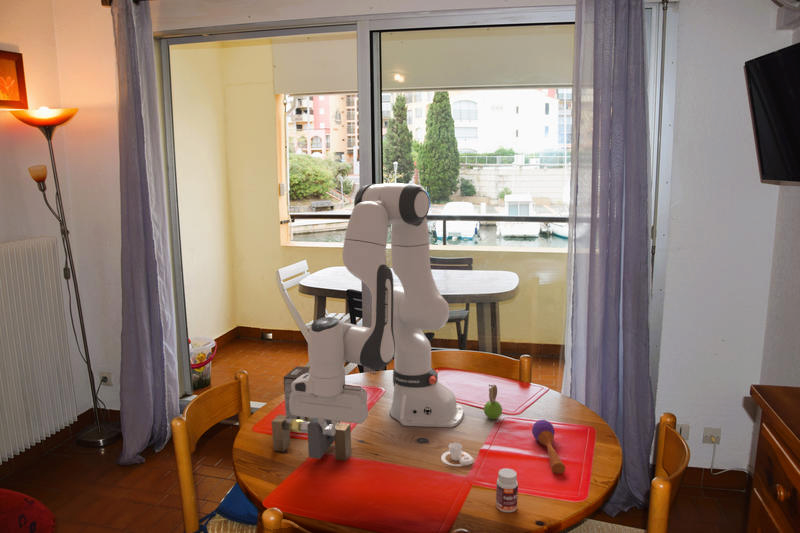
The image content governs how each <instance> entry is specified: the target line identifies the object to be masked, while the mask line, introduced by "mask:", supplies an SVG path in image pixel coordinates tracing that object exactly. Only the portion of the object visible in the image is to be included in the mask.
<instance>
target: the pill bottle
mask: <svg viewBox="0 0 800 533" xmlns="http://www.w3.org/2000/svg"><path fill="white" fill-rule="evenodd" d="M497 475H498V476H497V477H498V478H497V479H496V490H495V491H496V492H495V506H496V508H497V509H498V510H500V511H501V512H503V513H513V512H515V511H517V509H518V493H519V491H518V490H519V489H518V488H519V483H518V480H517V478H518V476H517V471H516V470H514V469H511V468H508V467H507V468H506V467H503V468H501V469H499V470H498V474H497Z"/></svg>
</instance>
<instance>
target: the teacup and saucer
mask: <svg viewBox="0 0 800 533" xmlns="http://www.w3.org/2000/svg"><path fill="white" fill-rule="evenodd" d="M448 450H449V451H445V452H443V454H441V457H440V459H441V461H442V463H443V464H446V465H447V466H451V467H464V466H468V465H469V466H470V465H471V464H473V462H474V458H473V457H472V456H471V455H470V454H469V453H468V452H465V451H464V450H463V444H462V443H458V442H452V443H448ZM448 455H450V458H451V460H453V461H456V462H457V461H459V463H451V462H449V461H448V460H447V459H446V457H447V456H448ZM462 455H464V456H462Z"/></svg>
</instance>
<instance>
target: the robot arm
mask: <svg viewBox="0 0 800 533" xmlns="http://www.w3.org/2000/svg"><path fill="white" fill-rule="evenodd" d="M430 203H431V202H430V197H429V194H428V192H427V191H426V189H425V188H424V187H422V186H420V185H418V184H414V183H402V182H401V183H399V182H389V183H376V184H375V183H371V184H370V183H369V184H366V185H363V186H361V187H360V188H359V189H358V190H357V193H356V194H355V197H354V201H353V204H354V205H353V206H354V207H353V209H352V212H351V214H350V217H349V220H348V223H347V227H346V231H345V236H344V241H343V247H342V262H343V264H344V267H345V268H346V269H347V271H348V272H349V273H350V274H351V275H352V276H354V277H355V278H356V279H358V280H360V281H361V282H363V284H365V286H367V288H368V289H369V291H370V294H371V326H370V327H367V326H362V325H358V324H354V323H349V322H343V321H341V320H340V319H339V318H337V317H334V316H326V317H321V318H318V319H316V320H315V321H313V322H312V323H311V324H310V328H309V331H308V339H307V351H308V352H307V353H308V354H307V356H308V359H309V363H310V364H309V367H310V369H309V373H306V374H303V375H301V376H300V377H298V378H297V379H296V380H295V381H294V382H293V383H292V384H291V389H292V390H293V391H292V392H291V394H290V400H289V409H290V412H291V414H292V415H294V416H302V417H310V418H318V423H319V424H320V426H321V427H322V428H323V434H324V435H332V436H334V435H335V433H336V426H337V424H338V423H339V421H340V422H341V423H349V424H351V423H352V424H357V425H359V424H360V425H361V424H363V423H364V422H366V420H367V418H368V417H369V410H368V404H367V403H368V402H367V401H368V392H367V391H366V389H365V388H363V387H362V386H360V385H352V384H346V369H345V366H344V364H345V363H347V362H348V363H351V364H356V365H358V366H359V365H360V366H362V367H364V368H367V369H370V370H372V371H379V370H382V369H384V368H385V367H387V366H388V365H389V364H390V363H391V362H392V361H393V358H394V368H393V369H392V370H393V371H392V383H393V397H392V402H391V407H390V409H389V414H390V416H391V417H392V418H394V419H395V420H396V421H398V422H399V423H400V424H401V426H403V427H430V428H431V427H433V428H435V427H436V428H454V427H455V426H457V425H460V423H461V422H462V420H463V417H464V416H465V415H464V414H465V413H464V411H465V410H464V407H463V406H462V405H460V404H457V400H456V399H457V398H456V396H455V394H454V392H453V391H452V390H451V389H450V388H448V387H447V386H445V385H444V384H443V383H442V382H440V381H439V380H438V374H439V370H438V369H436V370H434V368H432V346H431V342H430V340H429V339H428V338H427V336H426V334H424V332H423V331H438V330H441V329H442V328H444V327H445V325H447V323H448V320H449V318H450V306H449V303H448V302H447V300H446V299H445V298H444V297H443V295H442V293H441V292H440V291H439V289H438V287H437V284H436V281H435V279H434V277H433V272H432V268H431V257H430V253H431V252H430V251H431V250H430V234H429V225H428V219H427V216H428V213H429V210H430ZM389 225H391V227H390V228H391V232H390V233H391V234H390V247H391V268H390V267H389V266H388V263H387V258H386V256H387V255H386V253H387V245H388V237H389V236H388V234H389V229H388V228H389ZM393 273H394V274H395V276H396V277H397V278H398V280H399V282H400V284H398V285H394V276H393ZM325 420H331V423H332V424H333V426H328V425H327V423H326V421H325Z"/></svg>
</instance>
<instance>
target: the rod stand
mask: <svg viewBox="0 0 800 533" xmlns="http://www.w3.org/2000/svg"><path fill="white" fill-rule="evenodd" d="M309 423H310V422H309V421H304V420H298V419H289V416H286V414H278V415H276V417H274V418H273V420H271V428H272V430H271V431H272V447H273V448H272V449H273V451H276V452H285V451H286V449H288V448H289V447H290V445H291V434H290V433H291V432H293V433H301V434H302V433H305V434H308V428H307V425H308V424H309ZM328 426H333V424H329V425H328ZM327 436H332V435H327ZM333 437H334V460H336V461H337V460H338V461H343V462H345V461H347V460H348V459H349V457H350V456H351V455H352V430H351V423H350V422H342V421H340V423H339V424H338V425H337V426H336V433H335V435H334V436H333Z"/></svg>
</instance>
